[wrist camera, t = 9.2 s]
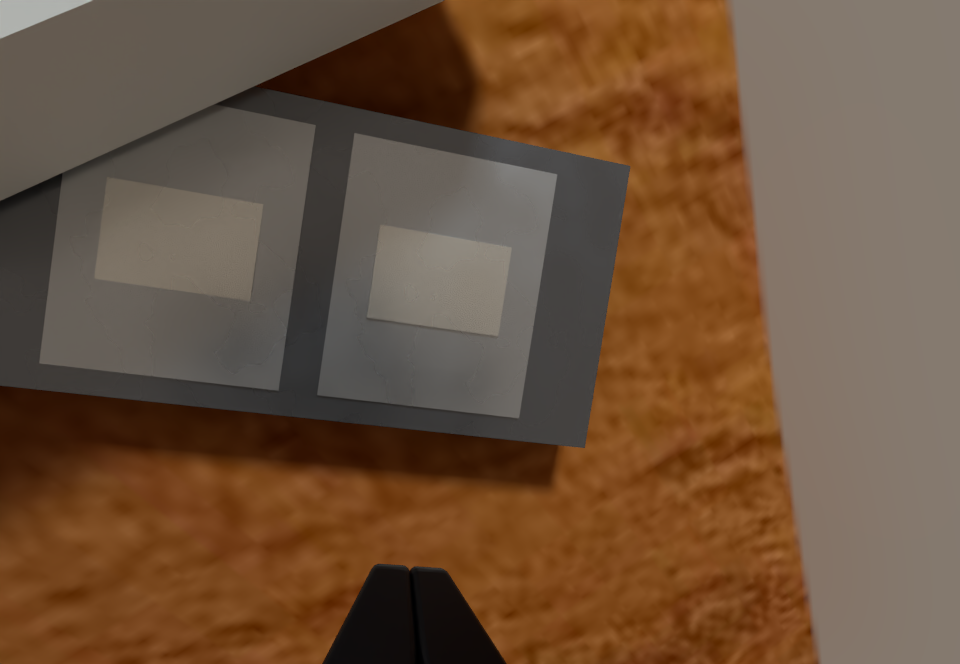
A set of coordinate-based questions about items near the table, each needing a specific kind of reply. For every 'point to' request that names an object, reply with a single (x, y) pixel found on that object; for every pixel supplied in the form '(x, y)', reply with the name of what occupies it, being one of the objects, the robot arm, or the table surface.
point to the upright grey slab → (148, 66)
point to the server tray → (319, 272)
